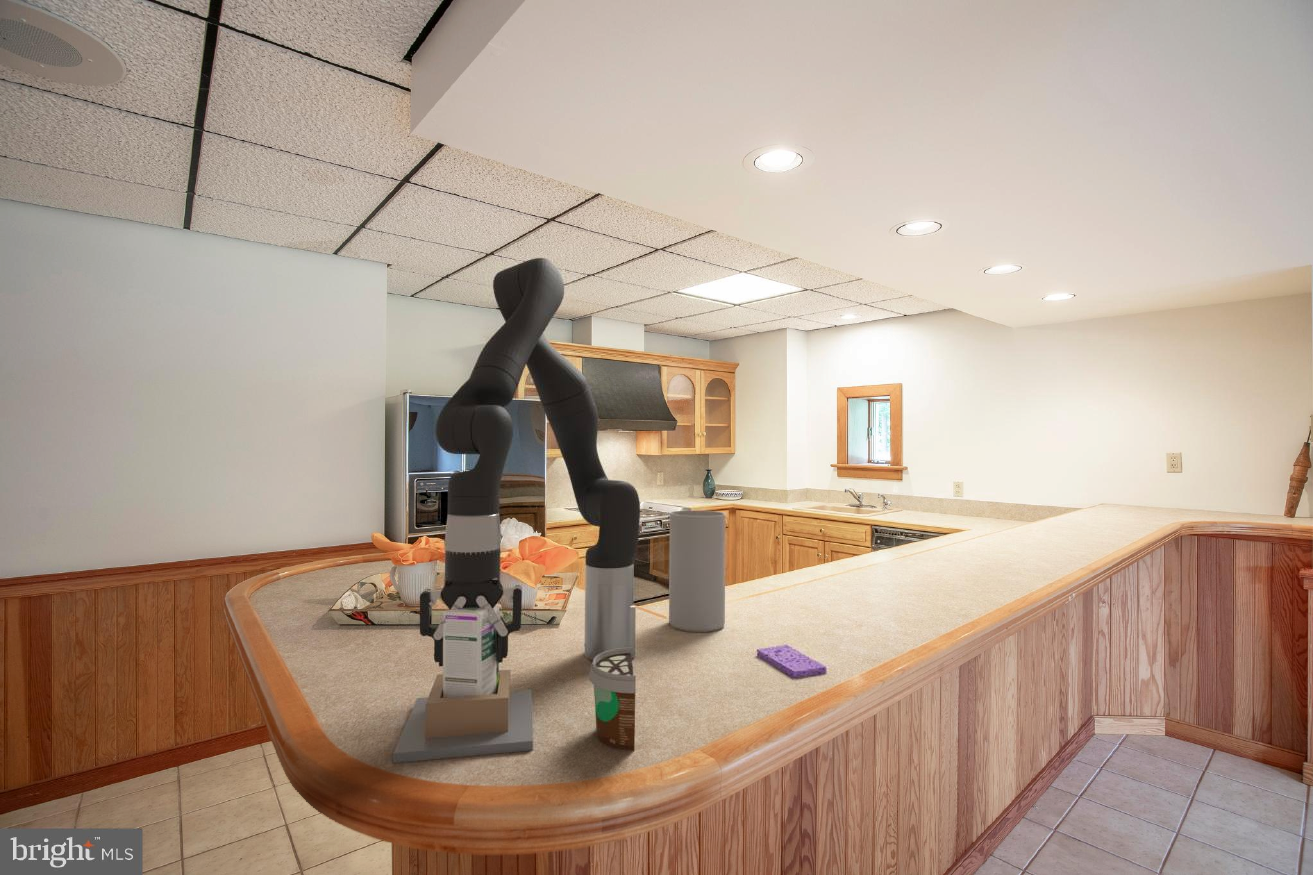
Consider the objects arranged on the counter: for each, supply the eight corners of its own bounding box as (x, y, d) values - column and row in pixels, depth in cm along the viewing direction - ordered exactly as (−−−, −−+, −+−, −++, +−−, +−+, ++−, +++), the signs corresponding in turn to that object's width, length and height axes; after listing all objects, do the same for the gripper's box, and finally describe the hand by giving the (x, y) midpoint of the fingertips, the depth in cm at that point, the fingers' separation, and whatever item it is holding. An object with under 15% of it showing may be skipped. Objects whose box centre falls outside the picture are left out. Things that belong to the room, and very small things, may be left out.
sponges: (786, 653, 118) (786, 644, 118) (827, 676, 107) (827, 665, 107) (755, 658, 116) (755, 648, 116) (794, 681, 104) (794, 670, 104)
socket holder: (531, 697, 95) (532, 660, 95) (532, 750, 78) (533, 705, 78) (417, 705, 91) (417, 668, 92) (392, 763, 75) (393, 716, 75)
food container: (589, 715, 89) (589, 646, 89) (630, 714, 89) (631, 646, 90) (586, 757, 77) (587, 678, 77) (635, 756, 77) (635, 677, 77)
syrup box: (480, 719, 82) (482, 611, 82) (440, 715, 83) (442, 608, 83) (499, 702, 87) (501, 601, 87) (461, 698, 88) (463, 599, 89)
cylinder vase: (665, 617, 141) (666, 510, 141) (718, 616, 142) (719, 510, 143) (672, 634, 128) (673, 516, 129) (730, 632, 130) (731, 516, 130)
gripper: (525, 540, 91) (523, 651, 90) (424, 542, 88) (422, 657, 87) (524, 548, 83) (523, 669, 83) (414, 551, 80) (412, 676, 80)
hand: (471, 662), depth 85 cm, fingers closed on syrup box, 7 cm apart
